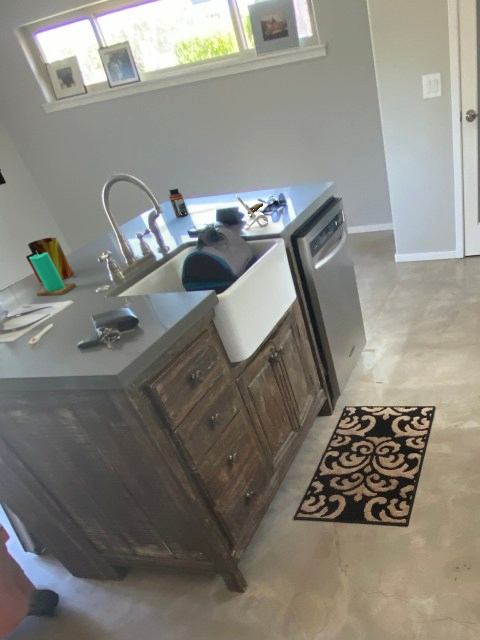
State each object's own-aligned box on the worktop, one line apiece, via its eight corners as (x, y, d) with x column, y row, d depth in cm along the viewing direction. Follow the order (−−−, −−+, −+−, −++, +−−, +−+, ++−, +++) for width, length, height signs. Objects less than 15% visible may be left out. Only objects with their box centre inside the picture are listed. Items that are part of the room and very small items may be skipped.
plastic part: (269, 225, 213) (261, 193, 206) (245, 230, 211) (237, 197, 204) (265, 221, 219) (258, 190, 211) (242, 226, 217) (234, 194, 209)
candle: (68, 284, 179) (49, 246, 171) (58, 290, 174) (38, 252, 166) (53, 285, 180) (33, 248, 172) (42, 291, 176) (22, 254, 168)
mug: (41, 286, 184) (21, 250, 176) (49, 275, 194) (31, 240, 186) (69, 281, 186) (51, 244, 178) (75, 270, 196) (58, 235, 188)
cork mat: (37, 296, 176) (35, 293, 175) (52, 287, 182) (51, 284, 181) (61, 294, 174) (60, 291, 173) (76, 286, 180) (75, 283, 179)
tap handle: (278, 193, 246) (251, 210, 225) (279, 201, 248) (253, 217, 227) (272, 194, 247) (245, 210, 226) (274, 201, 249) (247, 218, 228)
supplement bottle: (174, 216, 250) (165, 189, 243) (186, 213, 252) (177, 186, 245) (178, 218, 246) (168, 190, 239) (190, 215, 248) (181, 187, 241)
